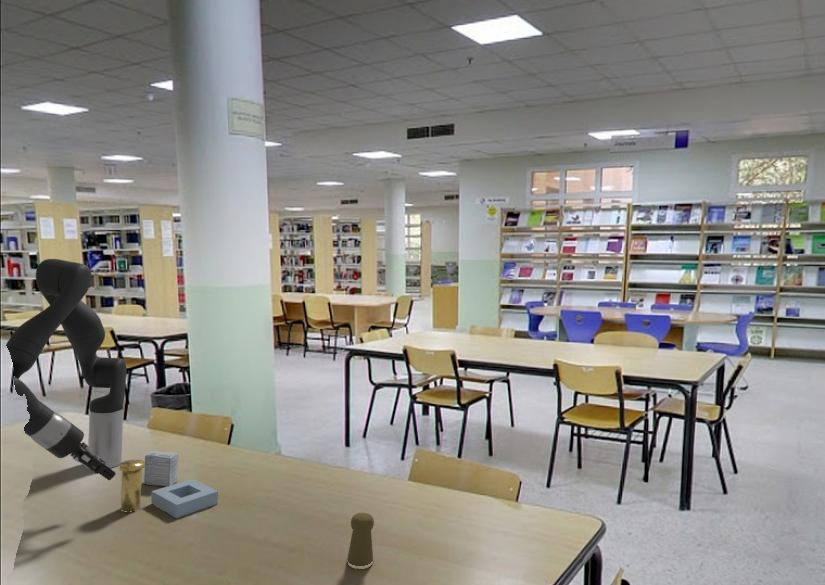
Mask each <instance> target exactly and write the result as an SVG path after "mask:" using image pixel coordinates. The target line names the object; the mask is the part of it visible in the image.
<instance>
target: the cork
mask: <svg viewBox="0 0 825 585" xmlns="http://www.w3.org/2000/svg"><path fill="white" fill-rule="evenodd" d="M351 517H352V518H351V519H350V520H351V521H350V526H351V529H352V534H351V538H350V543H349V549H348V554H347V559H346V561H347V560H348V562H349V563H350V564H352V565H355V566H365V565H368V564H370V563H371V562H372V561H373V562H374V554H373V553H374V552H373V540H372V530H373V527H374V525H375V519H374V517H373V516H372V515H371V514H370V513H368V512H357V513H355V514H354V515H353V516H351Z"/></svg>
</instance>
